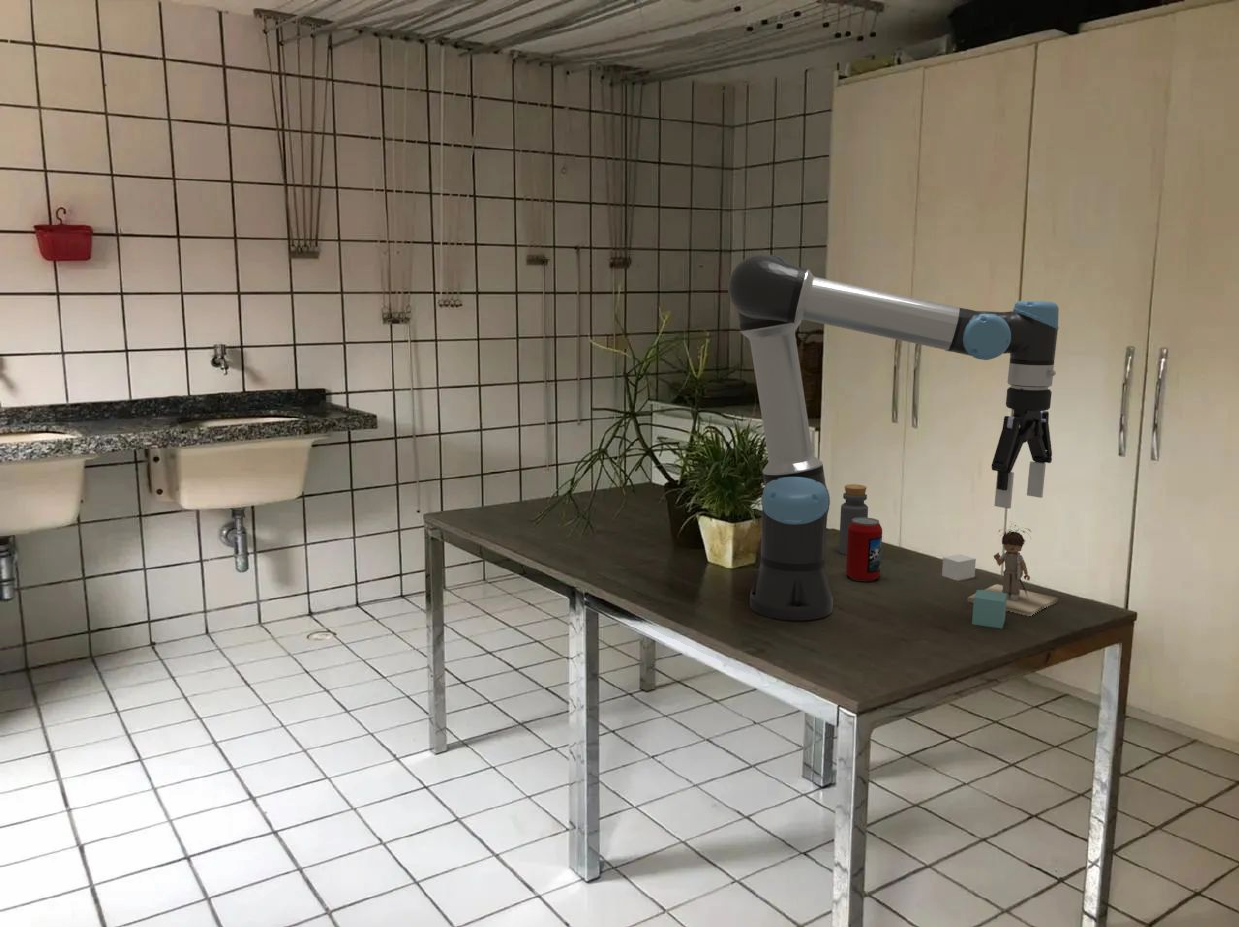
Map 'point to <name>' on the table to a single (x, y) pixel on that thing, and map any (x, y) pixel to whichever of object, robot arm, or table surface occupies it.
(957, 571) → the white block
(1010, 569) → the toy
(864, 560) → the beverage can
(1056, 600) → the board
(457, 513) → the table surface
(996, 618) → the teal block
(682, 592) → the table surface
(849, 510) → the bottle
